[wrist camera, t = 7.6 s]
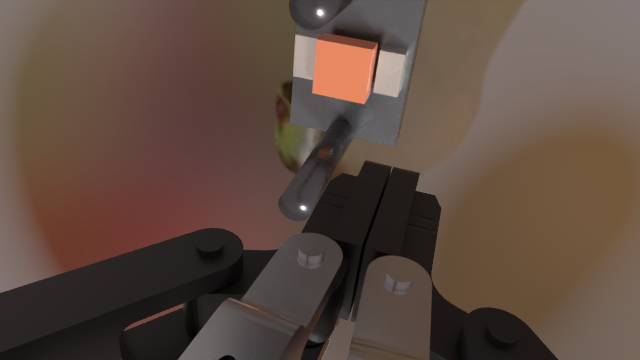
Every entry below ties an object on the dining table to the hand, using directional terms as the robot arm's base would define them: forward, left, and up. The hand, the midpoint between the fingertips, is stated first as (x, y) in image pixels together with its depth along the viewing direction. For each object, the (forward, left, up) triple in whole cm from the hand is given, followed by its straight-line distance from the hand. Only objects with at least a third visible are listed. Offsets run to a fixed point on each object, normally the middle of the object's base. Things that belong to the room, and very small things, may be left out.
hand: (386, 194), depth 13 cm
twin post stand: (+6, -7, -29) cm, 30 cm away
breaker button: (+6, -7, -28) cm, 29 cm away
